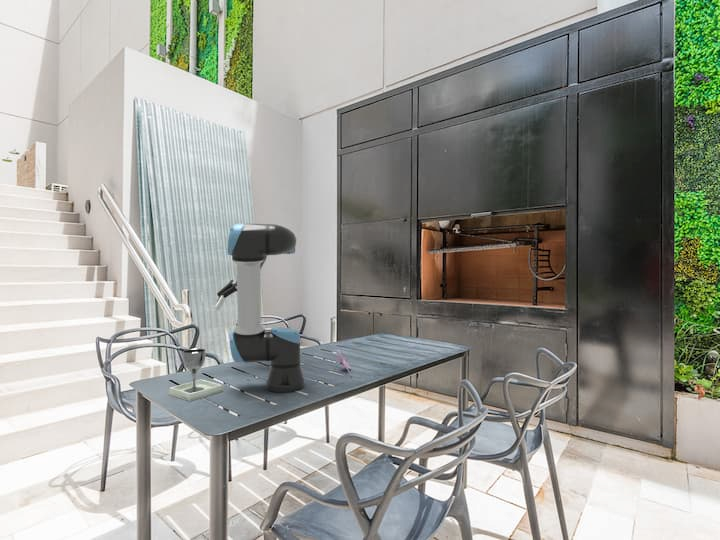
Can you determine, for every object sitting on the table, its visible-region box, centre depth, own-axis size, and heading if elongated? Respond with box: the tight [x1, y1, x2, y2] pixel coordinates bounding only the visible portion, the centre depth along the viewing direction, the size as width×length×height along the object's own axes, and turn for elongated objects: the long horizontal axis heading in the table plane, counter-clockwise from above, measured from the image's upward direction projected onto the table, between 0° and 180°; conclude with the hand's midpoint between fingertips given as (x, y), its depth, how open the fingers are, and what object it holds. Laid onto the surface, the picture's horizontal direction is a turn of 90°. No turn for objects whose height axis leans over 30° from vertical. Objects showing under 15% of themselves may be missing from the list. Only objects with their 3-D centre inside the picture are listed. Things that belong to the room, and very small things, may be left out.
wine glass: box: [182, 348, 206, 393], centre depth 148 cm, size 8×8×15 cm
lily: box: [333, 348, 352, 372], centre depth 180 cm, size 12×12×10 cm
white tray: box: [168, 379, 224, 402], centre depth 148 cm, size 14×14×2 cm
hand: (230, 309), depth 169 cm, fingers open, 13 cm apart
